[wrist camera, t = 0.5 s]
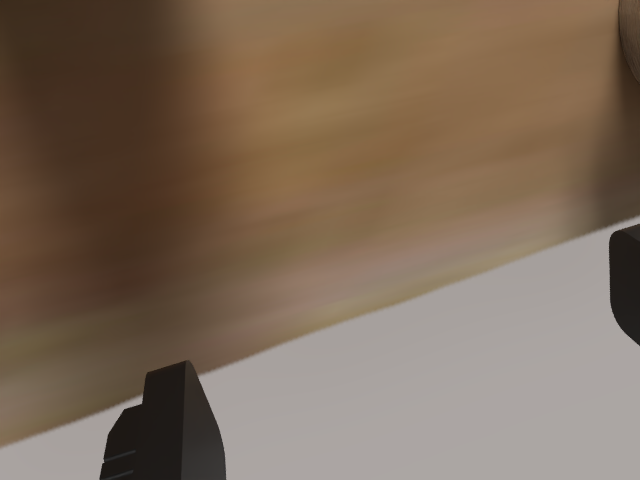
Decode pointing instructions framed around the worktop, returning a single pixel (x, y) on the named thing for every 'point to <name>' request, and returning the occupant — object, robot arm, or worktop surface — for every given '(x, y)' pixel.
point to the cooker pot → (630, 33)
